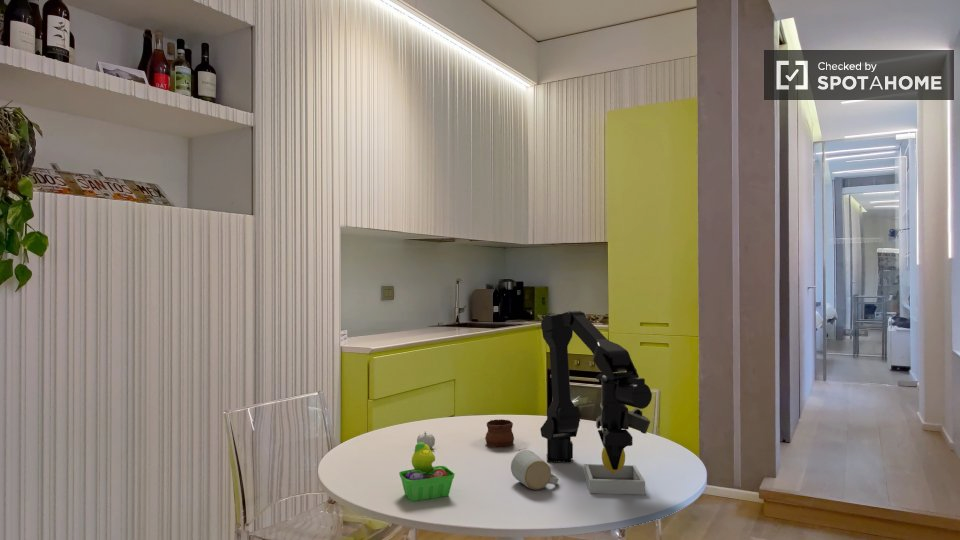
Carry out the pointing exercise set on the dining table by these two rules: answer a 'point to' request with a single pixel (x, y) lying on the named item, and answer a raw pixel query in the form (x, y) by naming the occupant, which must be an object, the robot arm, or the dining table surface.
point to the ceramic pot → (499, 433)
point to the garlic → (426, 439)
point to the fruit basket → (426, 476)
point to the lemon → (607, 462)
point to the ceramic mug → (532, 470)
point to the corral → (614, 480)
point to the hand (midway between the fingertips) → (613, 465)
